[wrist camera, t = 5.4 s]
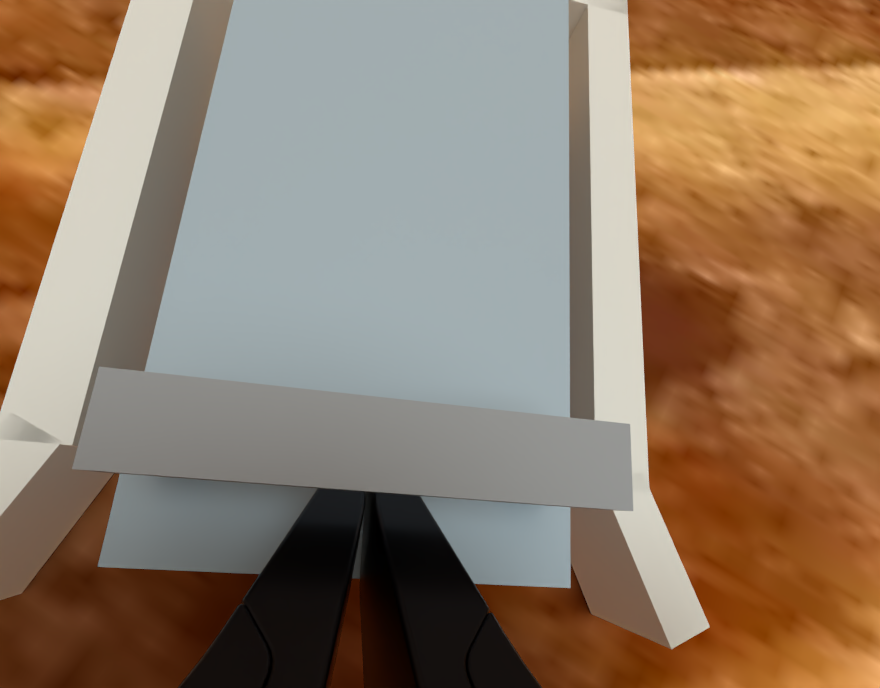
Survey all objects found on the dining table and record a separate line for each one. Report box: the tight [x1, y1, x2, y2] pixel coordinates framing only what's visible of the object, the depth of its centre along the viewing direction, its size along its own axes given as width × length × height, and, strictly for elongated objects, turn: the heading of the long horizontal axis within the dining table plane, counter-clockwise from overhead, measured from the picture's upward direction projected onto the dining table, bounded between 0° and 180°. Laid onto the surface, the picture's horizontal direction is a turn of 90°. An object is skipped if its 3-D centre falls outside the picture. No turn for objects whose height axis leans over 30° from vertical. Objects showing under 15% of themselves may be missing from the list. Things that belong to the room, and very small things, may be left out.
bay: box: [0, 0, 710, 649], centre depth 16 cm, size 21×18×4 cm
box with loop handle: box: [72, 0, 633, 588], centre depth 13 cm, size 15×8×10 cm, turn 176°
